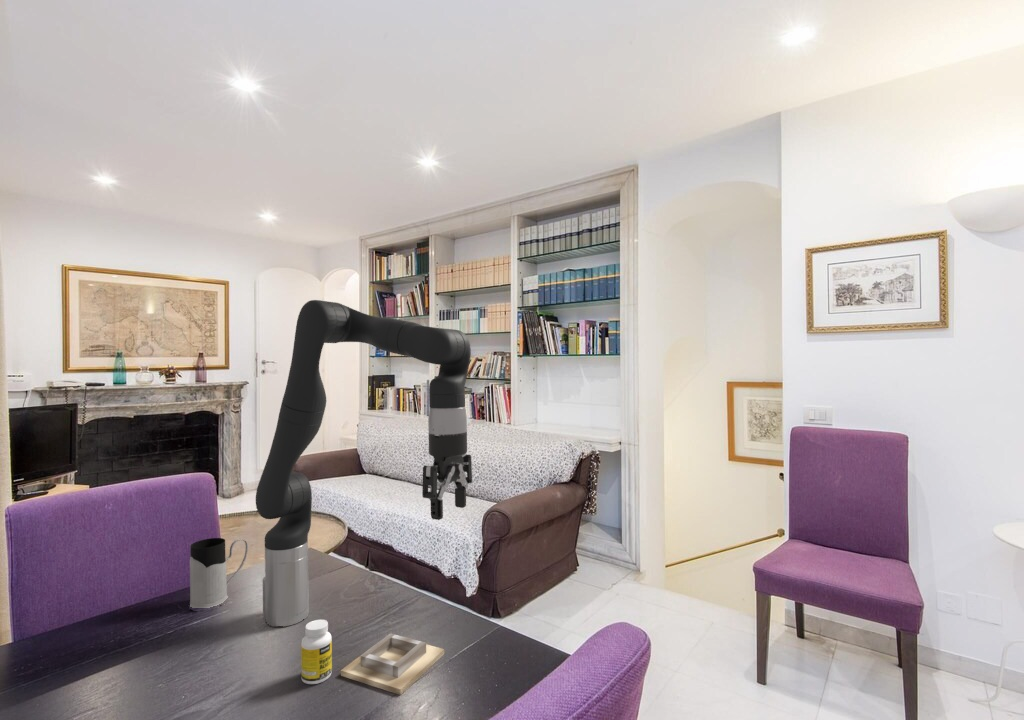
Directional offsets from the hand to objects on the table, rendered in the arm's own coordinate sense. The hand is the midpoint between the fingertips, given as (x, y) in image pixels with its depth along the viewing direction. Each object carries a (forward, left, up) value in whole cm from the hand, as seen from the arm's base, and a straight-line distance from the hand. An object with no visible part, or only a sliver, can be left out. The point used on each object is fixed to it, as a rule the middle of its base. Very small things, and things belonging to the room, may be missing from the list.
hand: (449, 512), depth 101 cm
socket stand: (-10, -5, -29) cm, 31 cm away
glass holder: (-69, 0, -30) cm, 75 cm away
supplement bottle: (-21, -14, -30) cm, 39 cm away
